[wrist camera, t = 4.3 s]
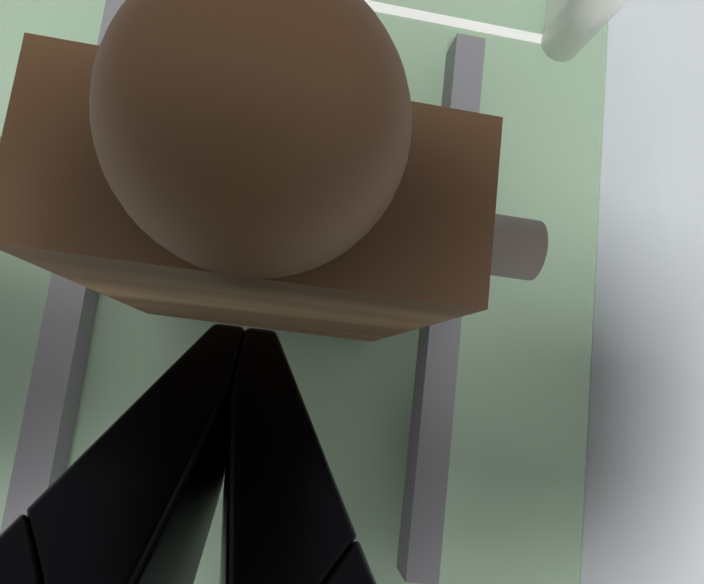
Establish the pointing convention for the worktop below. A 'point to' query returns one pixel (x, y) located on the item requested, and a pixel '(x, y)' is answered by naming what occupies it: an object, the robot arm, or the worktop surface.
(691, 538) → the worktop surface
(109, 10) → the pitch
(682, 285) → the worktop surface
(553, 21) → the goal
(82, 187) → the figure
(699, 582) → the worktop surface
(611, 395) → the worktop surface
